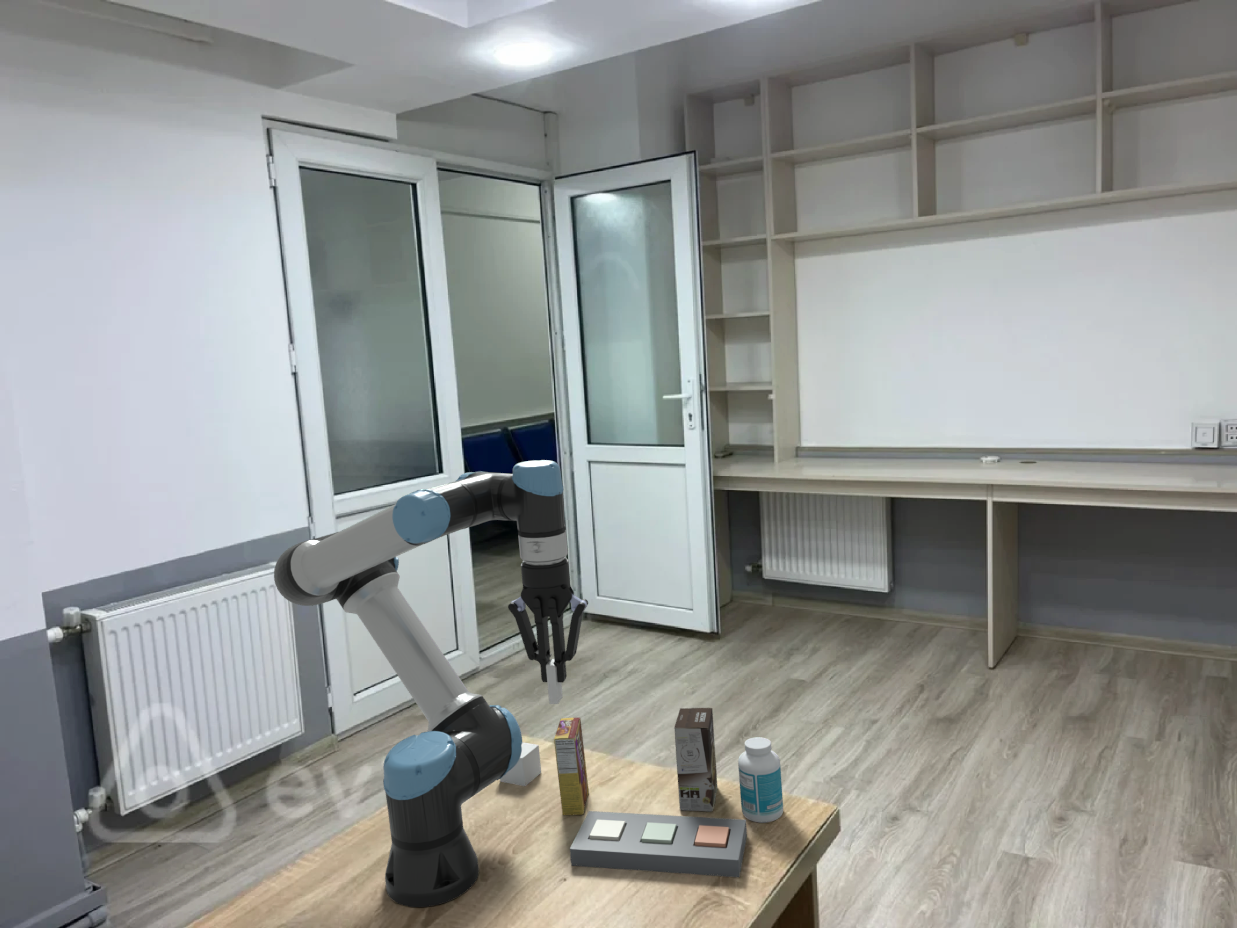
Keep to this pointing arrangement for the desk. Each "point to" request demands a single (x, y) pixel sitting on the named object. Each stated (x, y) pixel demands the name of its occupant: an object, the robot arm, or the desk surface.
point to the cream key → (608, 830)
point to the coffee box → (696, 759)
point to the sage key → (659, 833)
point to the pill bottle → (760, 781)
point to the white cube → (525, 766)
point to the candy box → (571, 766)
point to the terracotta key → (712, 836)
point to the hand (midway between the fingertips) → (555, 700)
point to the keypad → (660, 846)
